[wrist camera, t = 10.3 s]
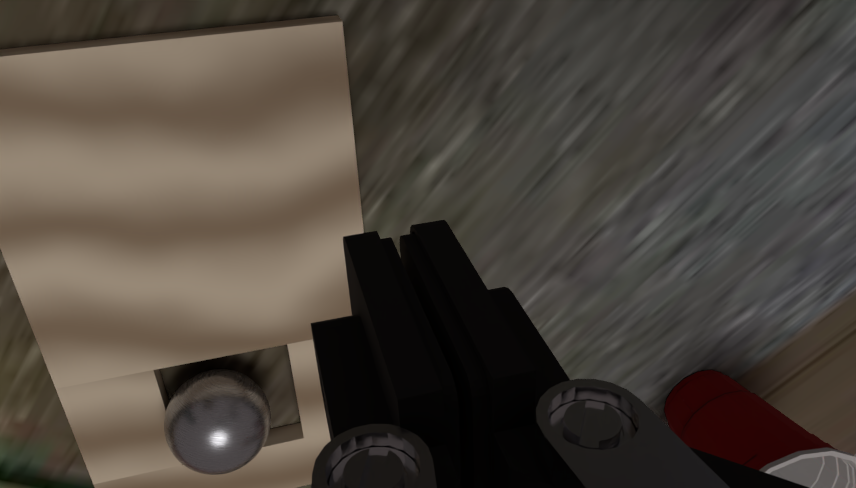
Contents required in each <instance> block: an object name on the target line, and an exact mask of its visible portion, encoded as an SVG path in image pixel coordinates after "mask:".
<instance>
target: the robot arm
mask: <svg viewBox="0 0 856 488" xmlns="http://www.w3.org/2000/svg"><path fill="white" fill-rule="evenodd" d="M343 246H344V255H345V263H346V271H347V279H348V288H349V296H350V304H351V312H352V316H346V317H341V318H336V319H330V320H325V321H320V322H314V323H311V330H312V336H313V343H314V349H315V355H316V362H317V368H318V374H319V380H320V385H321V391H322V397H323V402H324V408H325V413H326V418H327V424H328V429H329V434H330V439H331V441H330V442H329V443H328V444H326V445H325V446H324V447H323V449H322V450H321V452H320V453H319V455H318V456H317V458H316V460H315V464H314V468H313V472H312V484H311V488H809V487H806V486H803V485H800V484H797V483H794V482H791V481H789V480H786V479H783V478H780V477H777V476H774V475H771V474H768V473H765V472H762V471H759V470H756V469H753V468H750V467H747V466H744V465H741V464H738V463H735V462H732V461H730V460H727V459H724V458H721V457H718V456H715V455H712V454H709V453H706V452H703V451H700V450H697V449H694V448H691V447H688V446H687V445H686V444H685V443H684V442H683V441H682V440H681V439H680V438H679V437H678V436H677V435H676V434H675V433H674V432H673V431H672V430H671V429H670V428H669V427H668V426H667V425H666V424H665V423H664V422H663V421H662V420H661V419H660V418H659V417H658V416H657V415H656V414H655V413H654V412H653V411H652V410H650V409H649V408H648V407H647V406H646V405H645V404H644V403H643V402H642V401H641V400H640V399H639V398H638V397H636V396H635V395H634V394H632V393H631V392H630V391H628V390H627V389H625V388H623V387H620V386H618V385H616V384H614V383H611V382H606V381H602V380H597V379H574V380H570V379H569V378H568V376H567V375H566V373H565V372H564V370H563V369H562V367H561V366H560V364H559V363H558V361H557V360H556V358H555V356H554V355H553V353H552V352H551V350H550V349H549V347H548V346H547V344H546V343H545V341H544V340H543V338H542V337H541V335H540V334H539V332H538V331H537V329H536V328H535V326H534V325H533V323H532V322H531V320H530V319H529V317H528V316H527V314H526V312H525V311H524V309H523V308H522V306H521V305H520V303H519V302H518V300H517V299H516V297H515V296H514V294H513V293H512V292H511V291H510V289H509V288H506V287H501V288H496V289H491V290H488V289H487V288H486V286H485V285H484V283H483V281H482V280H481V278H480V276H479V275H478V273H477V271H476V270H475V268H474V266H473V265H472V263H471V262H470V260H469V258H468V257H467V255H466V253H465V252H464V250H463V248H462V247H461V245H460V243H459V242H458V240H457V239H456V237H455V235H454V234H453V232H452V230H451V229H450V227H449V225H448V224H447V222H446V221H445V220H440V221H434V222H428V223H422V224H416V225H411V229H410V234H409V235H403V236H400V254H401V258H400V256H399V254H398V252H397V249H396V247H395V245H394V243H393V240H392V238H385V239H380V237H379V235H378V233H377V231H374V232H367V233H361V234H355V235H349V236H343Z"/></svg>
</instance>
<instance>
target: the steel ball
mask: <svg viewBox="0 0 856 488" xmlns="http://www.w3.org/2000/svg"><path fill="white" fill-rule="evenodd" d="M270 424H271V412H270V406H269V403H268V400H267V398H266V396H265V394H264V392H263V390H262V389H261V388H260V387H259V385H258V384H257V383H256V382H254V381H253V380H252V379H251V378H249V377H248V376H246V375H244V374H242V373H240V372H237V371H233V370H227V369H214V370H209V371H205V372H202V373H200V374H197V375H195V376H193V377H192V378H190V379H189V380H187V381H186V382H185V383H184V384H183V385H181V386H180V387H179V388H178V390H177V391H176V392H175V393H174V395H173V396H172V398H171V400H170V402H169V404H168V407H167V409H166V413H165V419H164V433H165V438H166V441H167V444H168V446H169V449H170V450H171V452H172V453H173V455H174V456H175V458H176V459H177V460H178V461H179V462H180V463H182V464H183V465H184V466H186V467H187V468H189V469H191V470H193V471H195V472H198V473H202V474H208V475H220V474H226V473H230V472H233V471H235V470H238V469H240V468H241V467H243V466H245V465H246V464H248V463H249V462H250V461H251V460H253V459H254V458H255V457H256V455H257V454H258V453H259V452H260V450H261V449H262V447H263V446H264V444H265V442H266V440H267V437H268V434H269V431H270Z"/></svg>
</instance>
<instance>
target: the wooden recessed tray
mask: <svg viewBox="0 0 856 488" xmlns="http://www.w3.org/2000/svg"><path fill="white" fill-rule="evenodd" d="M361 233H364V230H363V220H362V210H361V200H360V190H359V180H358V170H357V161H356V151H355V141H354V131H353V121H352V111H351V101H350V91H349V81H348V72H347V62H346V52H345V42H344V32H343V22H342V20H341V19H340V18H339V16H338V15H334V16H324V17H315V18H305V19H295V20H285V21H275V22H265V23H255V24H245V25H235V26H226V27H216V28H206V29H196V30H186V31H176V32H166V33H156V34H146V35H137V36H127V37H117V38H107V39H97V40H87V41H77V42H67V43H57V44H48V45H38V46H28V47H18V48H8V49H0V249H1V251H2V254H3V256H4V259H5V261H6V264H7V266H8V269H9V271H10V274H11V277H12V279H13V282H14V284H15V287H16V289H17V292H18V294H19V297H20V299H21V302H22V304H23V307H24V309H25V312H26V315H27V317H28V320H29V322H30V325H31V327H32V330H33V332H34V335H35V337H36V340H37V342H38V345H39V347H40V350H41V353H42V355H43V358H44V360H45V363H46V365H47V368H48V370H49V373H50V375H51V378H52V380H53V383H54V385H55V388H56V390H57V393H58V396H59V398H60V401H61V403H62V406H63V408H64V411H65V413H66V416H67V418H68V421H69V423H70V426H71V428H72V431H73V434H74V436H75V439H76V441H77V444H78V446H79V449H80V451H81V454H82V456H83V459H84V461H85V464H86V466H87V469H88V472H89V474H90V477H91V479H92V482H93V484H94V487H95V488H296V487H300V486H305V485H309V484H312V472H313V468H314V464H315V460H316V458H317V456H318V455H319V453H320V452H321V450H322V449H323V447H324V446H325V445H326V444H328V443H329V442H330V441H331V439H330V434H329V429H328V424H327V418H326V413H325V408H324V402H323V397H322V391H321V385H320V380H319V374H318V368H317V362H316V355H315V349H314V343H313V336H312V330H311V323H314V322H320V321H325V320H330V319H336V318H341V317H346V316H352V312H351V304H350V296H349V288H348V279H347V271H346V263H345V255H344V246H343V236H349V235H355V234H361ZM286 344H287V346H288V351H289V357H290V362H291V368H292V374H293V379H294V385H295V391H296V396H297V402H298V408H299V413H300V419H301V423H296V424H291V425H287V426H282V427H277V428H273V429H270V431H269V434H268V437H267V440H266V442H265V444H264V446H263V447H262V449H261V450H260V452H259V453H258V454H257V455H256V457H255V458H254V459H253V460H251V461H250V462H249V463H248V464H246V465H245V466H243V467H241V468H240V469H238V470H235V471H233V472H230V473H226V474H220V475H208V474H202V473H198V472H195V471H193V470H191V469H189V468H187V467H186V466H184V465H183V464H182V463H180V462H179V461H178V460H177V459H176V458H175V456H174V455H173V453H172V452H171V450H170V449H169V446H168V444H167V441H166V438H165V433H164V419H165V413H166V409H167V407H168V404H169V400H168V396H167V393H166V389H165V386H164V383H163V379H162V376H161V373H160V369H161V368H167V367H172V366H177V365H182V364H187V363H193V362H198V361H203V360H208V359H213V358H219V357H224V356H229V355H234V354H239V353H245V352H250V351H255V350H260V349H265V348H271V347H276V346H281V345H286Z"/></svg>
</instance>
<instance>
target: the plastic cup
mask: <svg viewBox="0 0 856 488" xmlns="http://www.w3.org/2000/svg"><path fill="white" fill-rule="evenodd" d="M664 411H665V414H666V418H667V420H668V424H669V427H670V429H671V430H672V431H673V432H674V433H675V434H676V435H677V436H678V437H679V438H680V439H681V440H682V441H683V442H684V443H685V444H686V445H687V446H688V447H691V448H694V449H697V450H700V451H703V452H706V453H709V454H712V455H715V456H718V457H721V458H724V459H727V460H730V461H732V462H735V463H738V464H741V465H744V466H747V467H750V468H753V469H756V470H759V471H762V472H765V473H768V474H771V475H774V476H777V477H780V478H783V479H786V480H789V481H791V482H794V483H797V484H800V485H803V486H806V487H809V488H856V457H855V456H854V455H852V454H850V453H847V452H843V451H839V450H838V449H835V448H833V447H832V446H831V445H829V444H828V443H825V442H823V441H822V440H820V439H819V438H818V437H816V436H815V435H814V434H810V433H809V432H807V431H806V430H805V429H803V428H802V427H800V426H799V425H798V424H796V423H795V422H793V421H792V420H791V419H789V418H788V417H786V416H785V415H784V414H782V413H781V412H780V411H778V410H777V409H775V408H774V407H773V406H771V405H770V404H768V403H767V402H766V401H764V400H763V399H761V398H760V397H759V396H757V395H756V394H754V393H751V392H749V391H748V390H747V389H745V388H744V387H742V386H741V385H740V384H738V383H737V382H736V381H734V380H733V379H731V378H730V377H729V376H727V375H724V374H722V373H721V372H717V371H713V370H706V371H700V372H697V373H695V374H693V375H690V376H688V377H686V378H685V379H684V380H682V381H681V382H680V383H679V384H678V385H677V386H675V387H674V389H673V390H672V392H671V393H670V395H669V396H668V398H667V400H666V404H665V408H664Z"/></svg>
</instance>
